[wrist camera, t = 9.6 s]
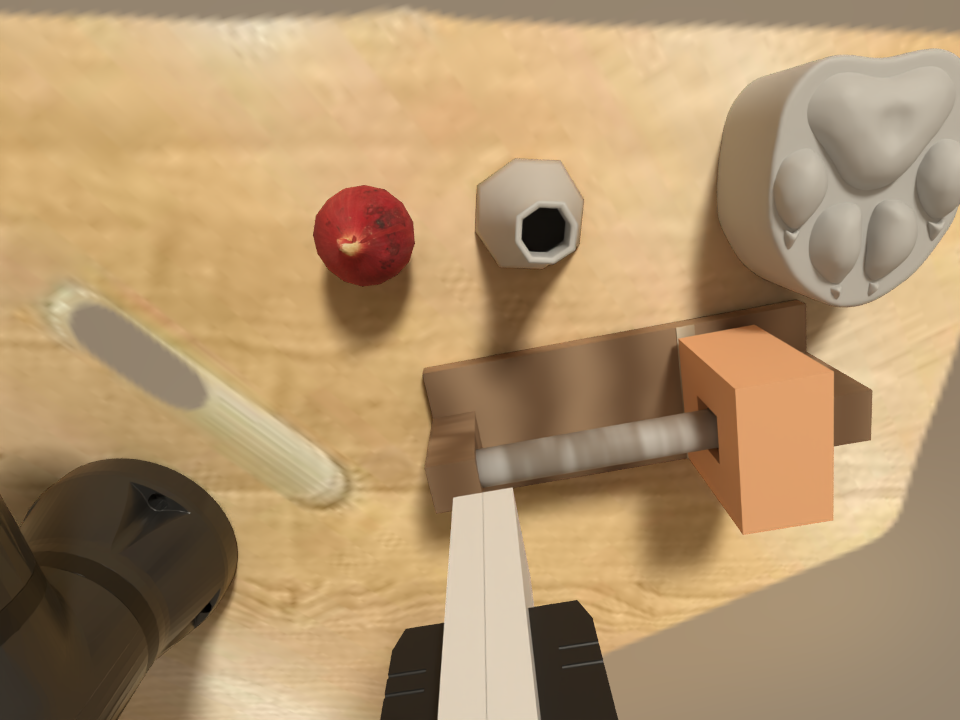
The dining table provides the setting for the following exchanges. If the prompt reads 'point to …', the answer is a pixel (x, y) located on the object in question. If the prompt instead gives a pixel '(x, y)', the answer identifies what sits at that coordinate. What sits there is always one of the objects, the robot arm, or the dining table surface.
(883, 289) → the lumpy-topped squat cylinder
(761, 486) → the collar
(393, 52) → the dining table surface
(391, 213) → the onion
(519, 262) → the flask
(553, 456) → the pipe stand
